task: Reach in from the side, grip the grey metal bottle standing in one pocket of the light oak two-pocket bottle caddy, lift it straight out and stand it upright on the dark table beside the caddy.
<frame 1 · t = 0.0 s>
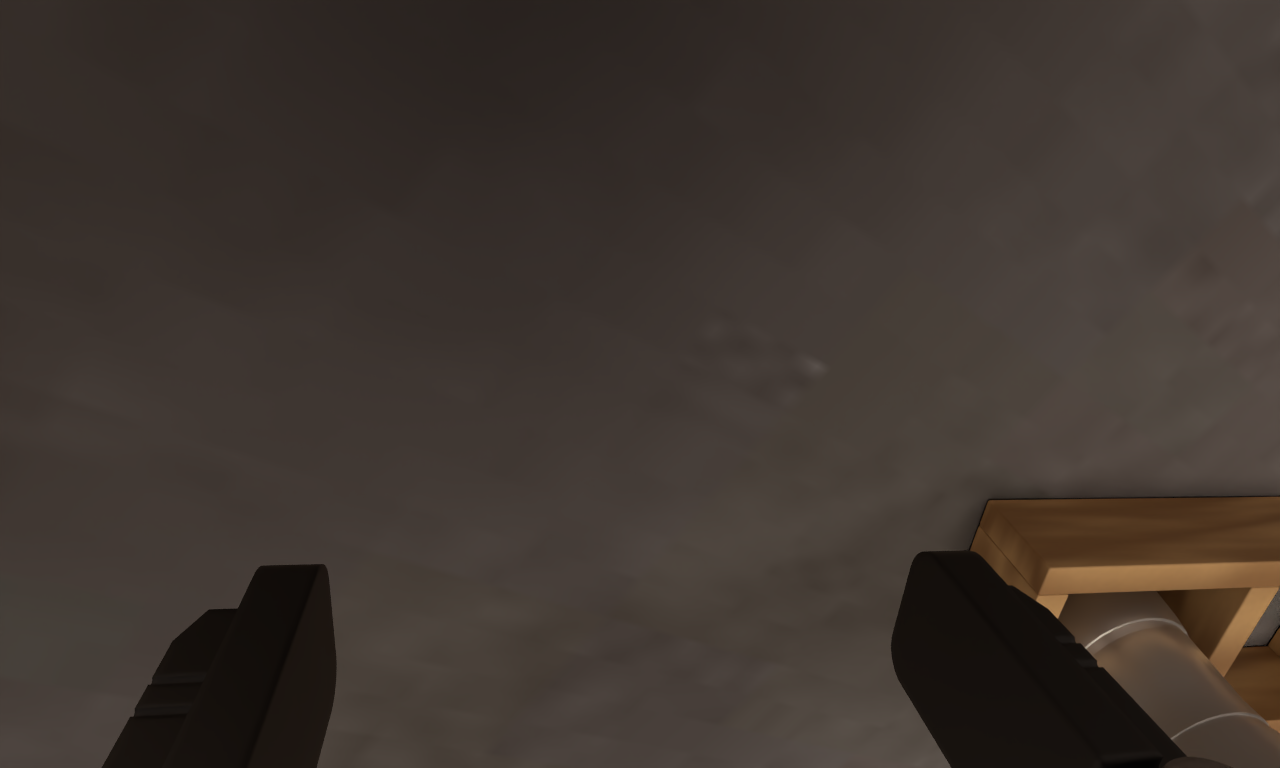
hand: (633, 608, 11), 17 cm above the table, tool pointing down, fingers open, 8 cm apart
caddy: (1149, 590, 38), on the table
grey metal bottle: (1056, 591, 38), resting in caddy
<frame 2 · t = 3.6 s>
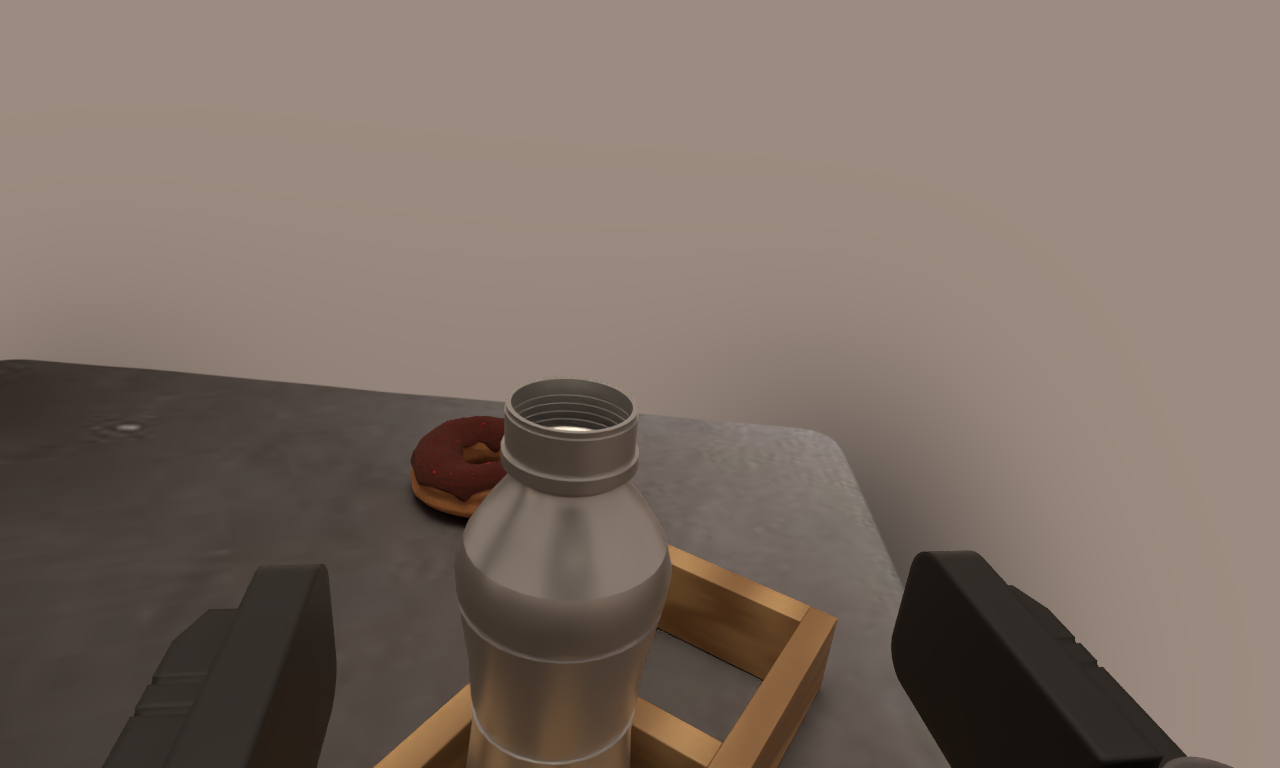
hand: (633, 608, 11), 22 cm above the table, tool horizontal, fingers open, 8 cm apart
donut: (483, 489, 54), on the table
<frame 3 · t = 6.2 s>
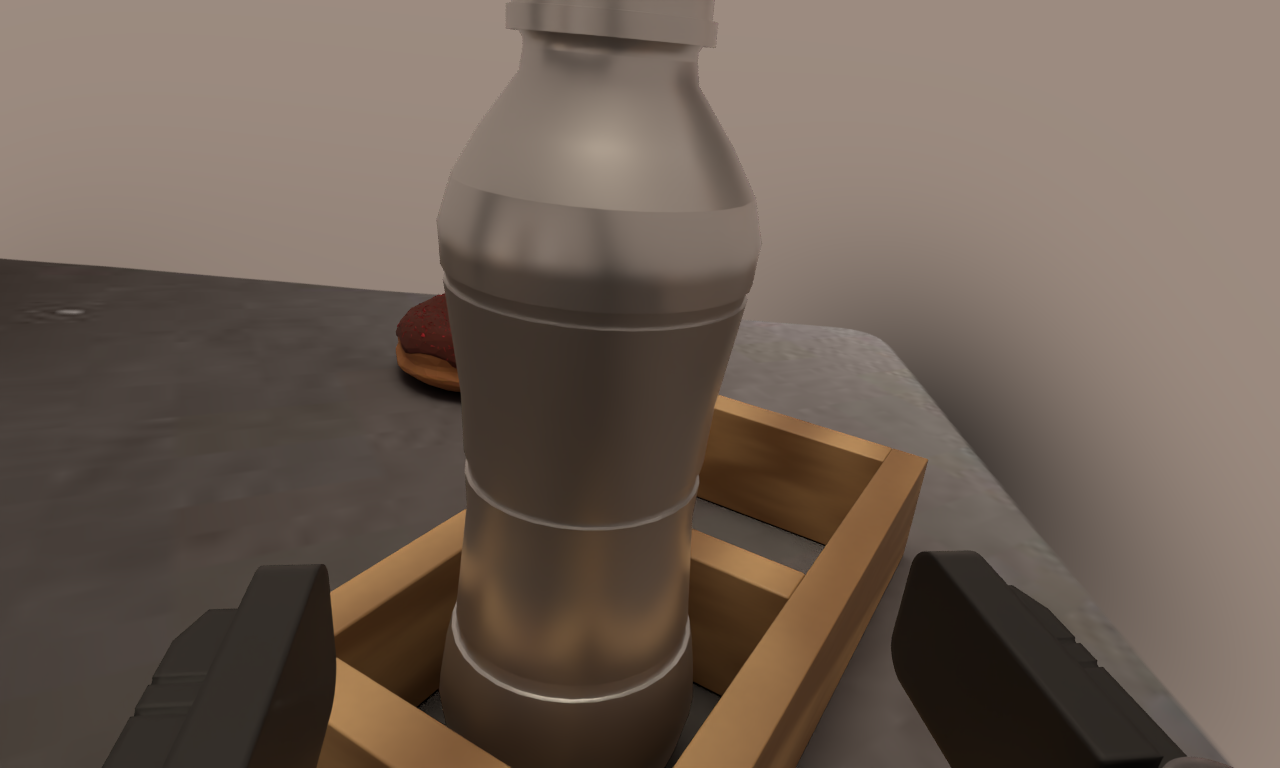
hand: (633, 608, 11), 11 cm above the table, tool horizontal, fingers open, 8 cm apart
donut: (482, 371, 46), on the table
caddy: (653, 645, 26), on the table
grey metal bottle: (564, 751, 22), resting in caddy
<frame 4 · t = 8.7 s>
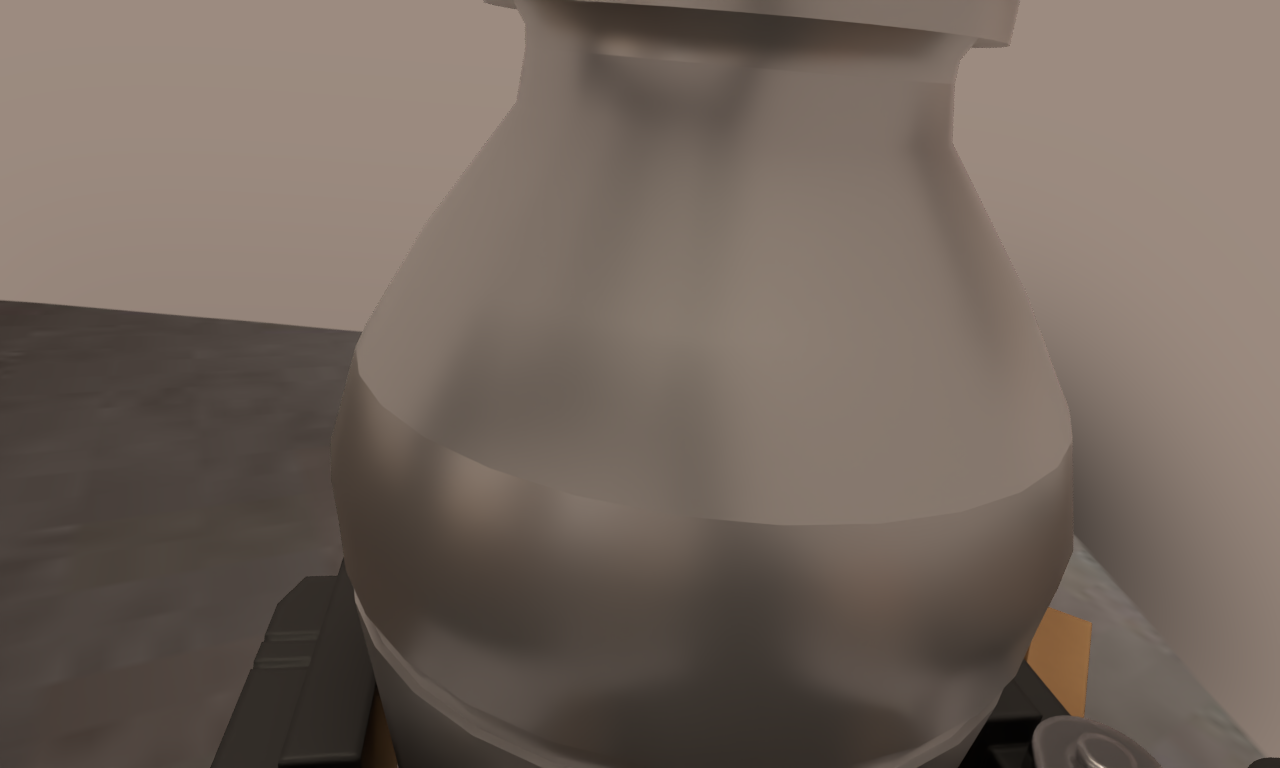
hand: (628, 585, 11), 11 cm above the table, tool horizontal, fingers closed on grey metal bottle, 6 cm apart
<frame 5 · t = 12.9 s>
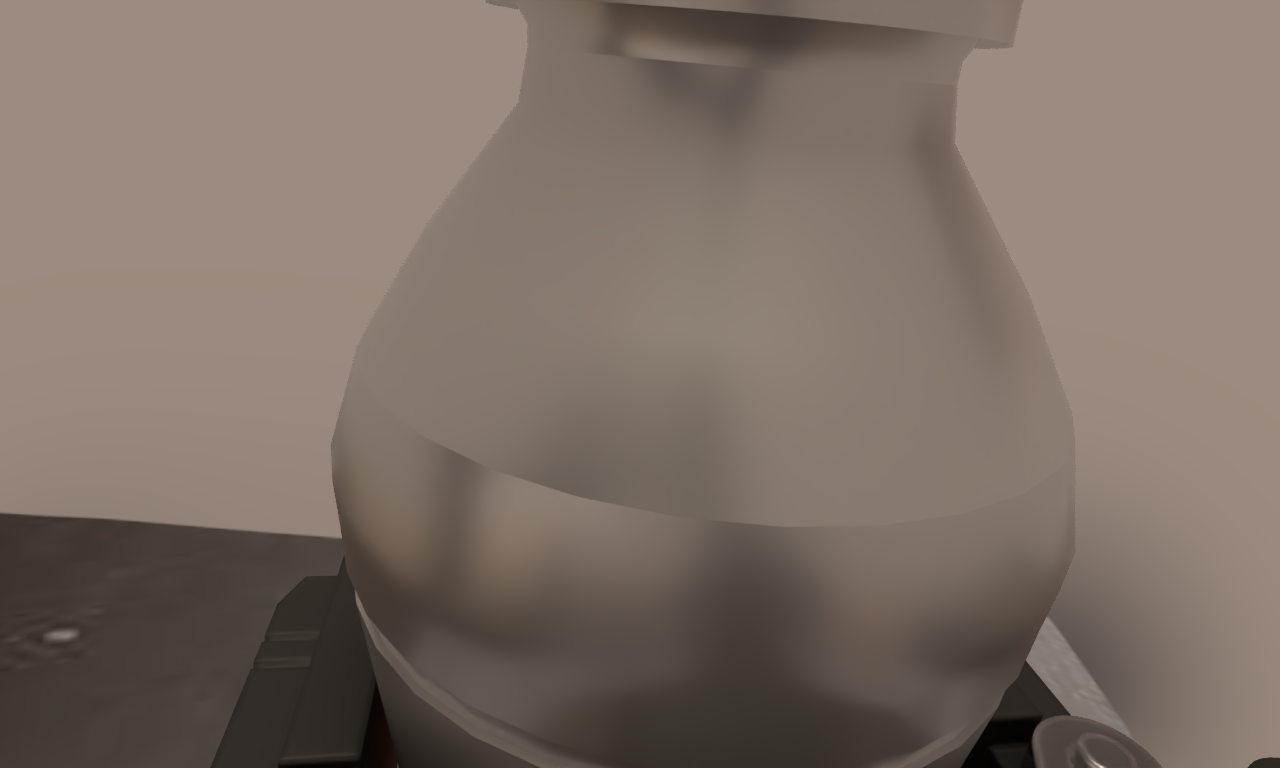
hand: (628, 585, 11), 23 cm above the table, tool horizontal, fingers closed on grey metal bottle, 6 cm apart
when the fingers open (11 cm above the table, at t = 17.3 s): grey metal bottle stays where it is, on the table.
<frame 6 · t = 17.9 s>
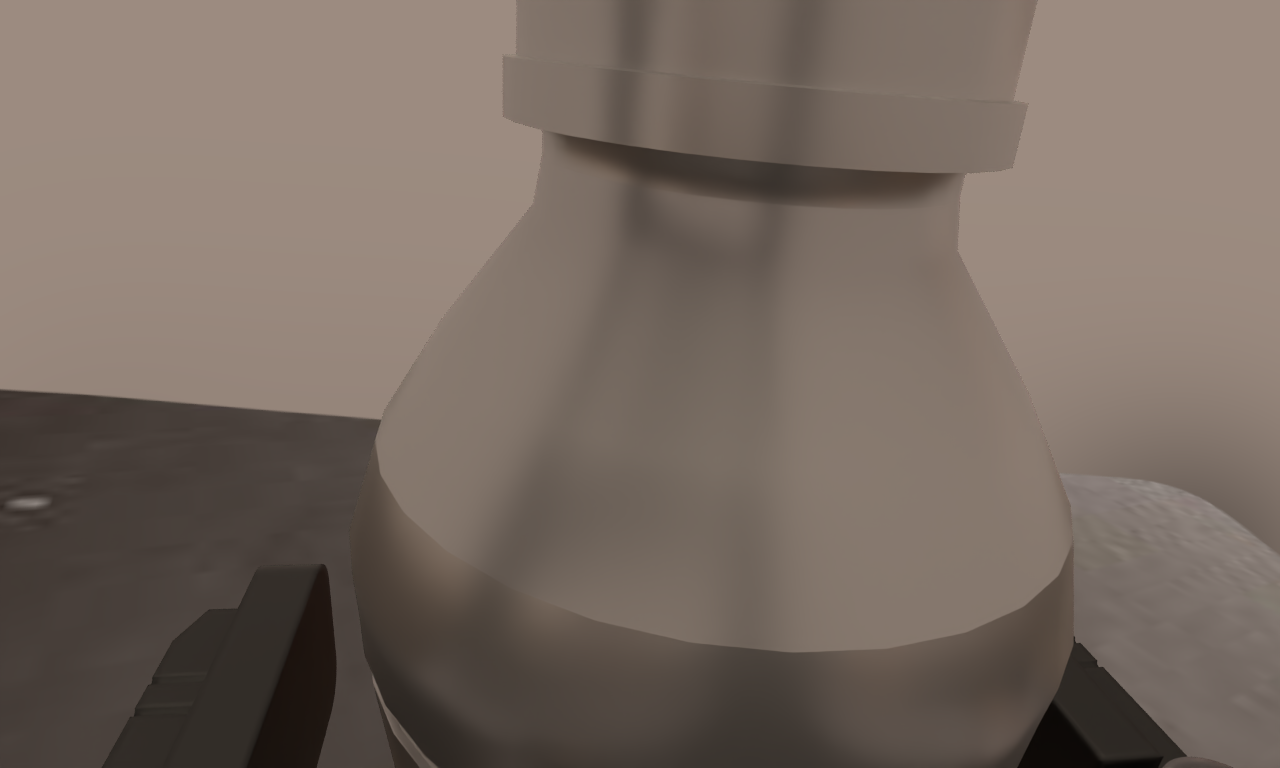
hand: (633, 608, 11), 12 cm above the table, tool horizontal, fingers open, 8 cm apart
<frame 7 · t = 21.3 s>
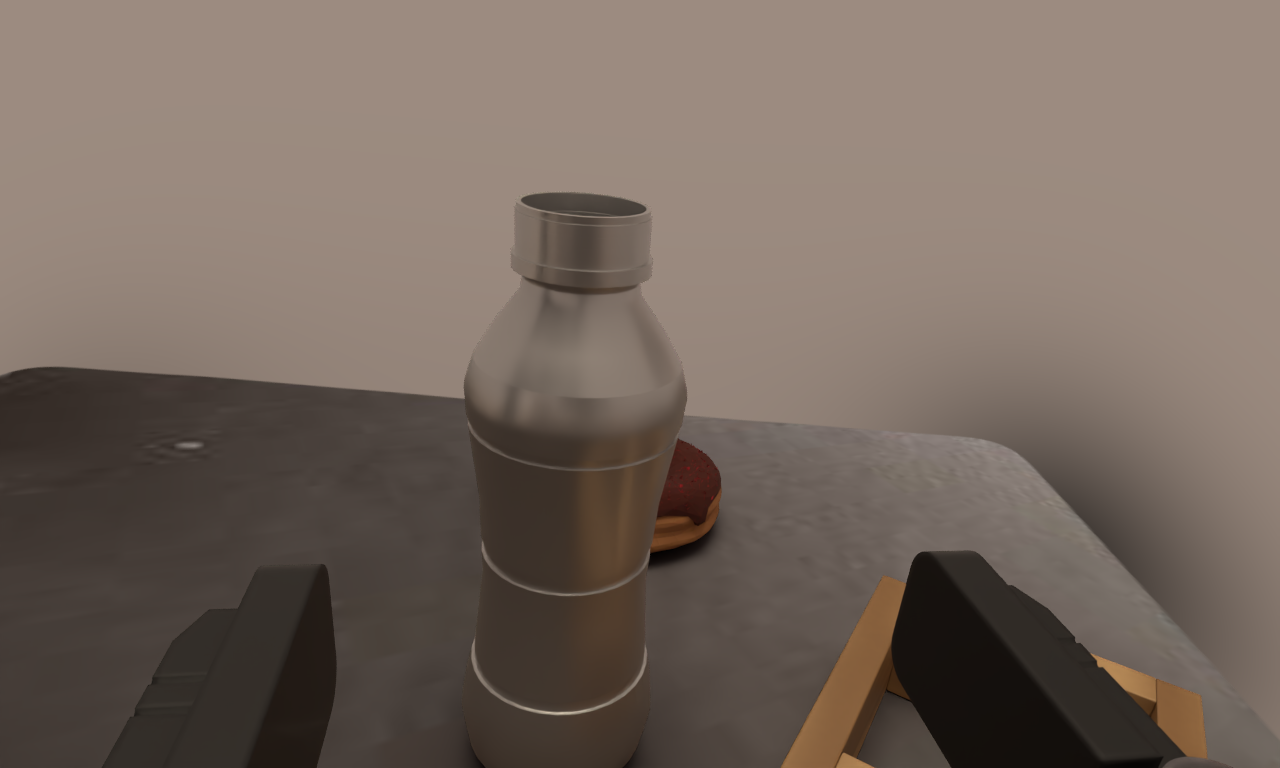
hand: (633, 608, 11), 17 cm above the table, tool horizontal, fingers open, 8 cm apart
donut: (630, 517, 44), on the table
grey metal bottle: (555, 750, 29), on the table
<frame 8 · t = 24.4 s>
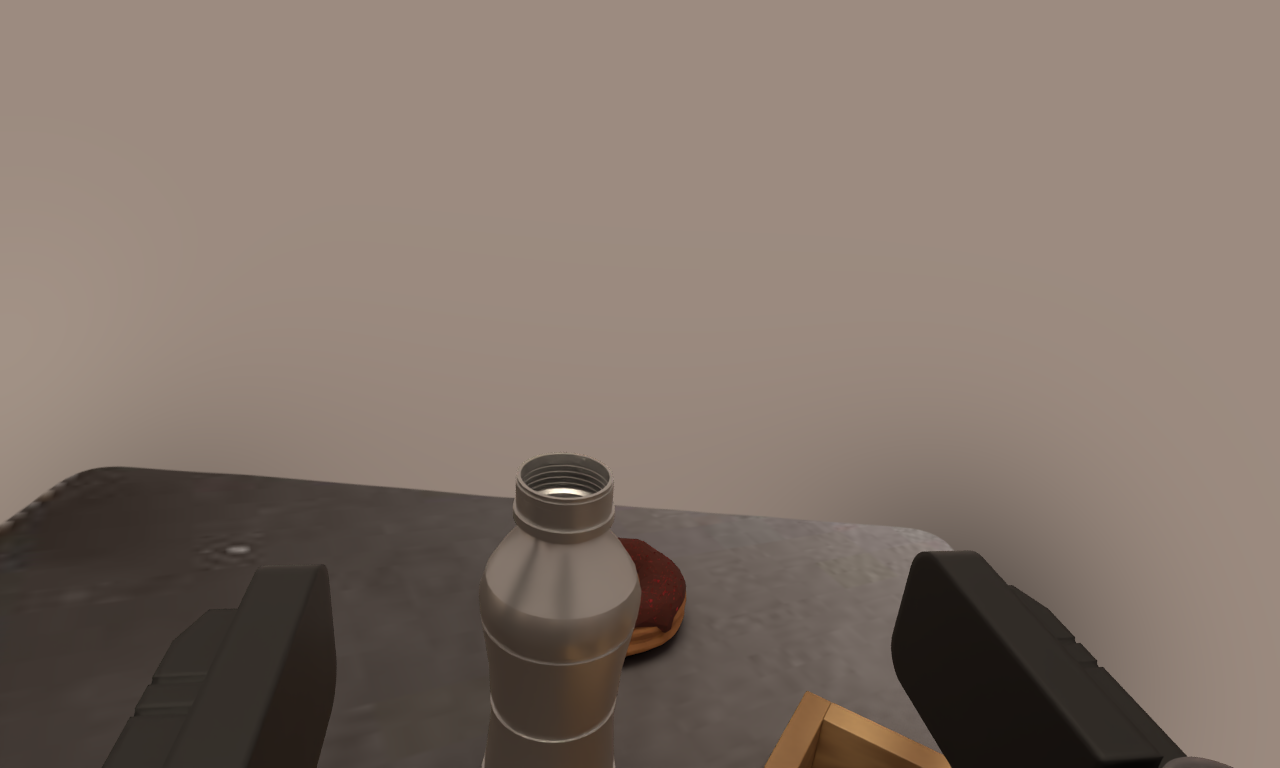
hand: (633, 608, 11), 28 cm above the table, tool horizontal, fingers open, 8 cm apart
donut: (610, 617, 52), on the table
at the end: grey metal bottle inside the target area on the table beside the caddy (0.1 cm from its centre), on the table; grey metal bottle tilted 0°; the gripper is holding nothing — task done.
